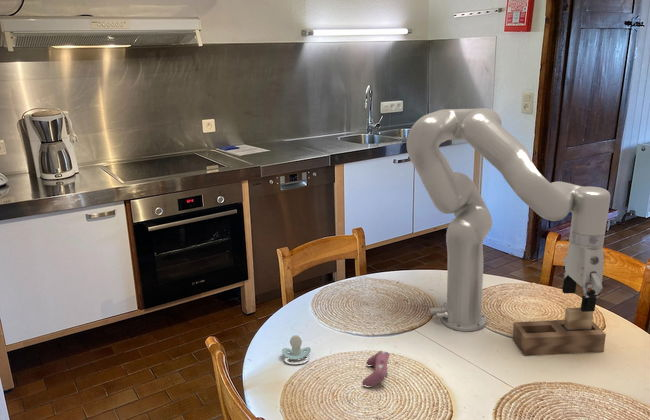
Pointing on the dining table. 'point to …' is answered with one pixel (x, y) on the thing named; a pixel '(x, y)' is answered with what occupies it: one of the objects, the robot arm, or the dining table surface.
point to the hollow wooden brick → (556, 338)
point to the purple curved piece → (377, 368)
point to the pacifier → (296, 349)
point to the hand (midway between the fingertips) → (577, 301)
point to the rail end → (577, 320)
